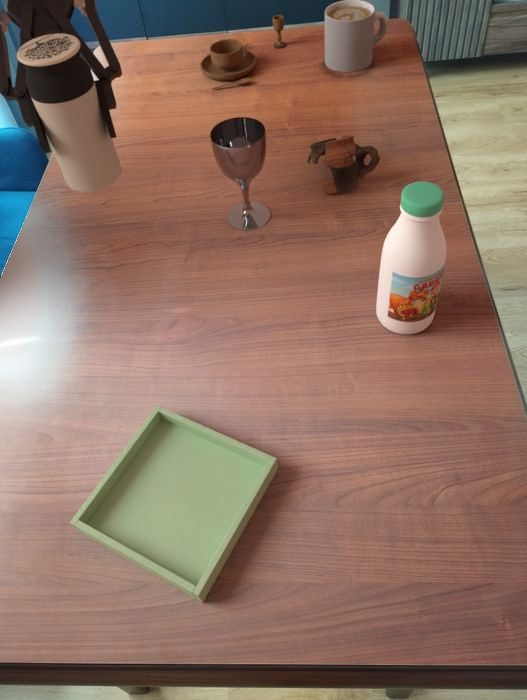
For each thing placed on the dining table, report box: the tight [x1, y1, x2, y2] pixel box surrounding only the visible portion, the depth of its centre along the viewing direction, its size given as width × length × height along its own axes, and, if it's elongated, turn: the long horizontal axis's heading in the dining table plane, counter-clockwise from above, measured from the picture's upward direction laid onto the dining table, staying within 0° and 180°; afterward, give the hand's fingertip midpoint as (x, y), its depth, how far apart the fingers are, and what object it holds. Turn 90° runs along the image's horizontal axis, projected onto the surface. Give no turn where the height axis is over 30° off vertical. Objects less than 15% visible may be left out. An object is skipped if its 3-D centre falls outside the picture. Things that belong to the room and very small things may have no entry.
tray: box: [69, 404, 279, 604], centre depth 64 cm, size 16×16×2 cm
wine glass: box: [209, 116, 271, 231], centre depth 89 cm, size 8×8×15 cm
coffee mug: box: [324, 0, 388, 73], centre depth 120 cm, size 13×10×10 cm
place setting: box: [199, 14, 287, 90], centre depth 124 cm, size 18×20×6 cm
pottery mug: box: [306, 135, 381, 195], centre depth 97 cm, size 12×10×8 cm
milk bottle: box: [375, 180, 448, 335], centre depth 71 cm, size 8×8×20 cm
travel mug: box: [16, 34, 123, 193], centre depth 76 cm, size 8×8×18 cm
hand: (79, 142), depth 75 cm, fingers closed on travel mug, 8 cm apart
